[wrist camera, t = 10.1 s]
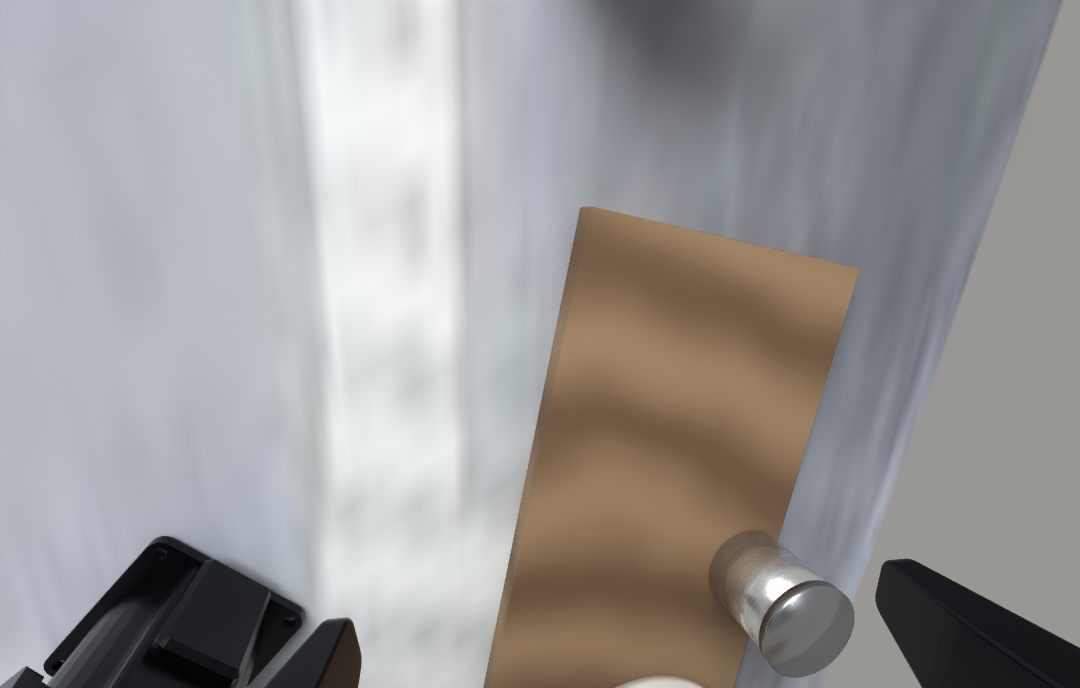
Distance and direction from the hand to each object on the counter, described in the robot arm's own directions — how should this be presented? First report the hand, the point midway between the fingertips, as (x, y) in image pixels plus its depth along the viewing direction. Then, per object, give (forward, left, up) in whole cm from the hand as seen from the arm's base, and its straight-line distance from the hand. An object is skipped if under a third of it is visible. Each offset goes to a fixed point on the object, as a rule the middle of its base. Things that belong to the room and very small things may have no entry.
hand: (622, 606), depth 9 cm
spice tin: (+1, -16, -12) cm, 20 cm away
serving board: (-4, -12, -13) cm, 18 cm away
